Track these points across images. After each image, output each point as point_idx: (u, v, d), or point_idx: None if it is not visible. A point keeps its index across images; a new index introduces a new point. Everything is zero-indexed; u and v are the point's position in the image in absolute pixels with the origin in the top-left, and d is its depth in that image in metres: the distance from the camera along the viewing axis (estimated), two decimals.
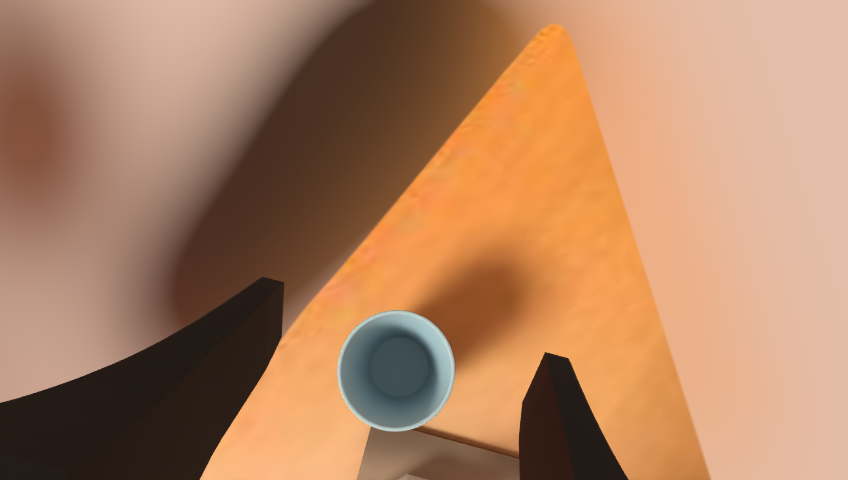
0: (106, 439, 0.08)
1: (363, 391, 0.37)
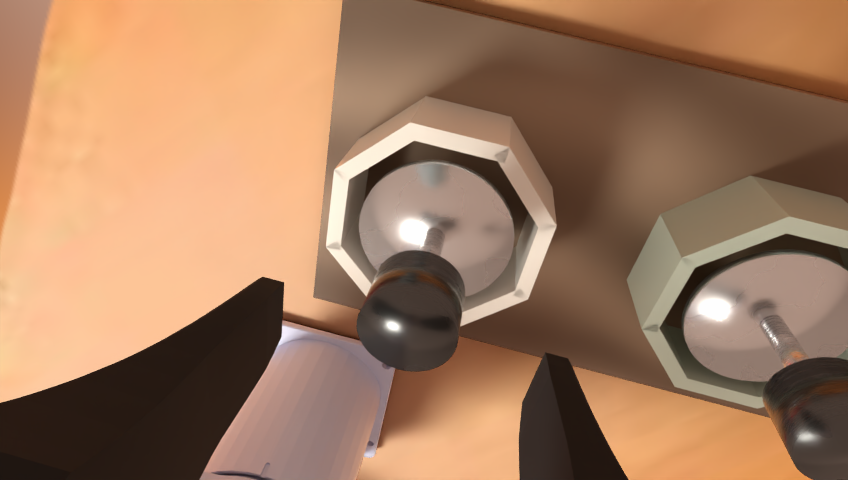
0: (106, 439, 0.08)
1: None
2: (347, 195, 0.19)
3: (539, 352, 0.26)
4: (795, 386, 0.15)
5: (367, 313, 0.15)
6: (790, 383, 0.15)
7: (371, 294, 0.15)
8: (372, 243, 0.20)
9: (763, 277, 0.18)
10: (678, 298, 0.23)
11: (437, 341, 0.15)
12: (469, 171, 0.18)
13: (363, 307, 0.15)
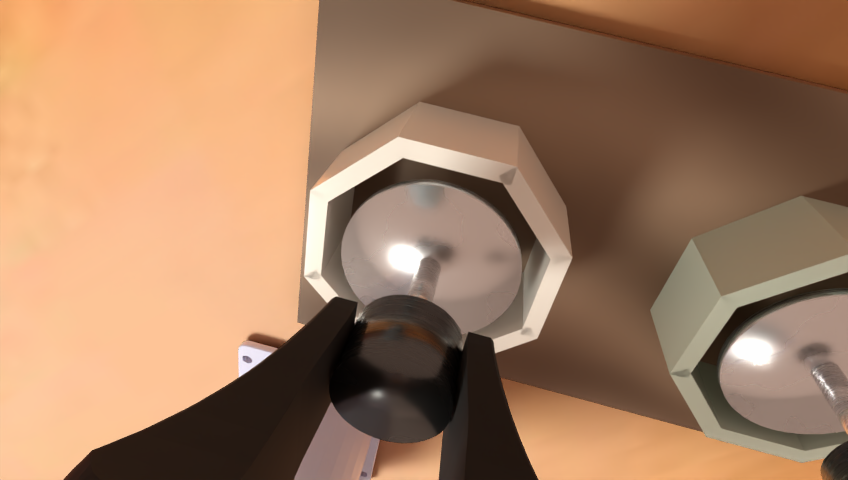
0: (233, 475, 0.08)
1: None
2: (326, 219, 0.17)
3: (549, 385, 0.23)
4: None
5: (341, 377, 0.12)
6: None
7: (346, 354, 0.12)
8: (357, 273, 0.17)
9: (818, 320, 0.15)
10: None
11: (427, 411, 0.12)
12: (469, 193, 0.15)
13: (336, 370, 0.12)
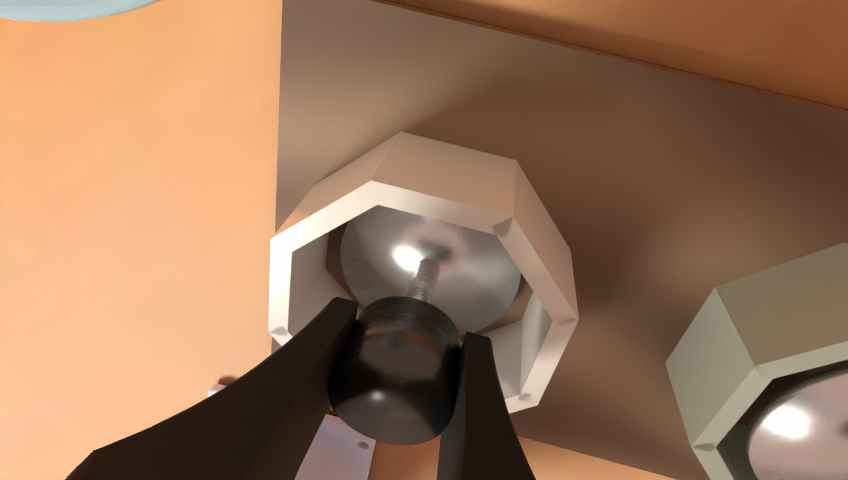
0: (235, 476, 0.08)
1: None
2: (291, 270, 0.14)
3: (550, 439, 0.21)
4: None
5: (340, 379, 0.12)
6: None
7: (345, 356, 0.12)
8: (356, 275, 0.17)
9: None
10: None
11: (426, 413, 0.12)
12: None
13: (335, 372, 0.12)
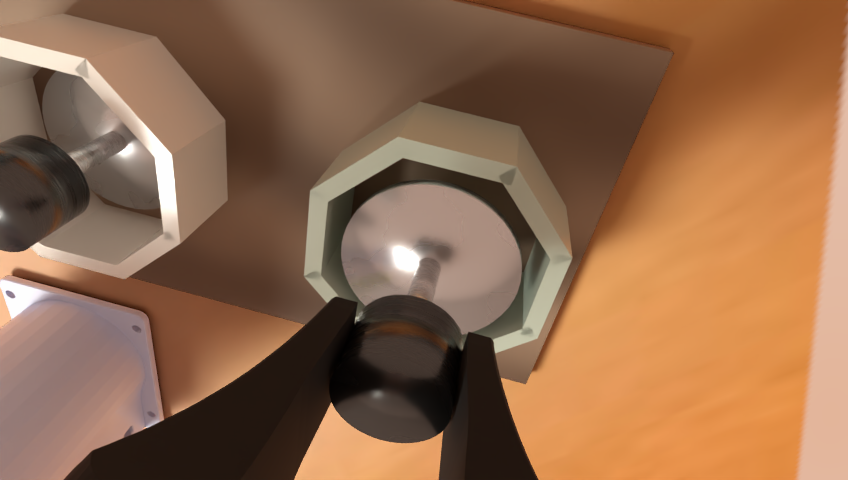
0: (233, 475, 0.08)
1: None
2: None
3: (277, 312, 0.24)
4: (355, 328, 0.13)
5: None
6: (355, 325, 0.13)
7: None
8: (65, 150, 0.20)
9: (399, 213, 0.16)
10: None
11: (17, 216, 0.15)
12: None
13: None
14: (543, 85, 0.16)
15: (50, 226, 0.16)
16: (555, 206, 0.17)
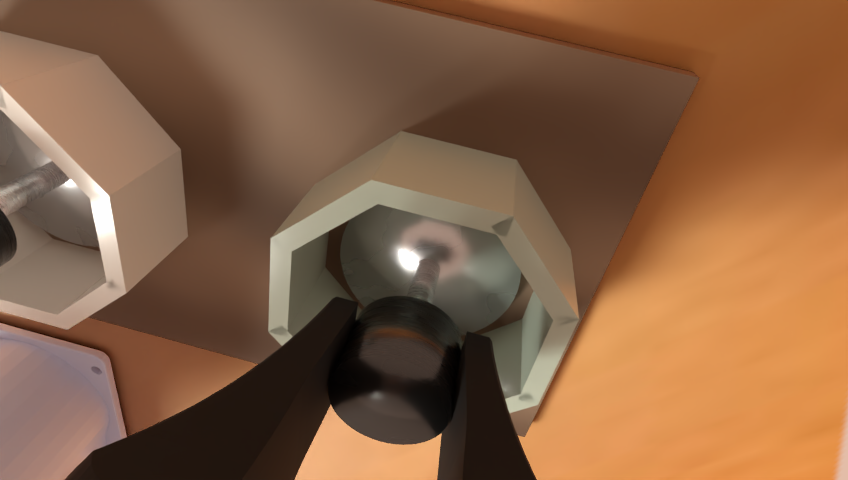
0: (234, 476, 0.08)
1: None
2: None
3: (248, 356, 0.21)
4: (354, 329, 0.13)
5: None
6: (354, 326, 0.13)
7: None
8: (3, 181, 0.18)
9: (398, 213, 0.16)
10: None
11: None
12: None
13: None
14: (545, 114, 0.14)
15: None
16: (558, 254, 0.14)
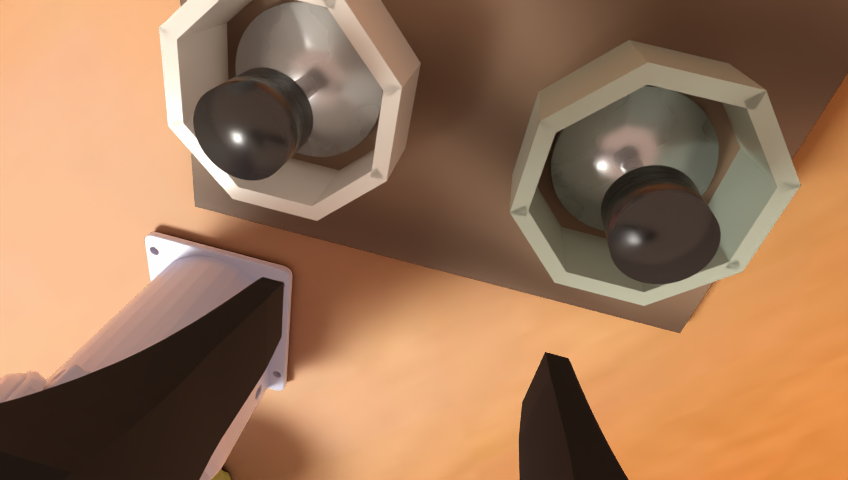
0: (106, 439, 0.08)
1: None
2: (180, 60, 0.18)
3: (433, 263, 0.24)
4: (619, 191, 0.16)
5: (201, 114, 0.15)
6: (616, 190, 0.16)
7: None
8: None
9: (616, 114, 0.19)
10: None
11: (269, 142, 0.15)
12: None
13: (196, 107, 0.15)
14: (762, 20, 0.17)
15: (290, 155, 0.16)
16: None
